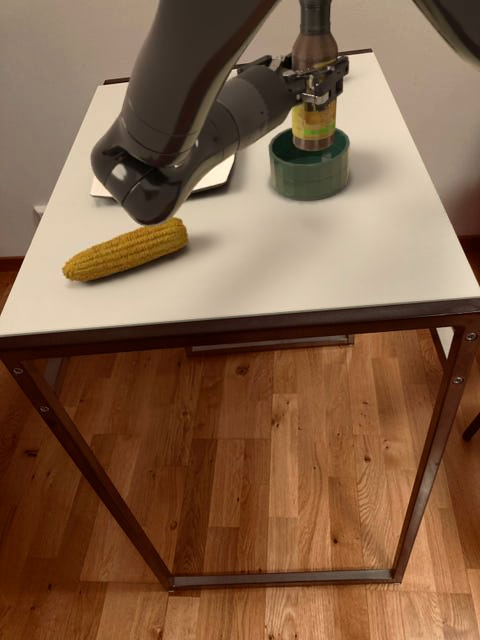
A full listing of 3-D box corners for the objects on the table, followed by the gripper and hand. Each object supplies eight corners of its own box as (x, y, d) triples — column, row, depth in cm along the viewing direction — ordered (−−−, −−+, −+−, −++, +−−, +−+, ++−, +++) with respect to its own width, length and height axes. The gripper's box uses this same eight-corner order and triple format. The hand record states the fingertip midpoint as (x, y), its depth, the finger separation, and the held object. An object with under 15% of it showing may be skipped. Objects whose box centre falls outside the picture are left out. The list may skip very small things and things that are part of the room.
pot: (353, 159, 97) (355, 125, 92) (341, 203, 89) (342, 168, 84) (281, 156, 101) (279, 122, 96) (263, 197, 93) (259, 163, 88)
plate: (238, 122, 113) (236, 111, 111) (234, 198, 94) (232, 185, 92) (114, 136, 116) (110, 125, 114) (86, 211, 97) (81, 200, 95)
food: (184, 234, 88) (176, 205, 84) (194, 252, 85) (187, 223, 80) (66, 277, 85) (52, 249, 80) (72, 297, 81) (58, 270, 77)
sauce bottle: (306, 158, 72) (302, 0, 58) (285, 141, 77) (276, -11, 62) (344, 144, 74) (350, -13, 59) (322, 128, 78) (322, -24, 63)
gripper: (288, 92, 54) (373, 36, 62) (195, 68, 62) (281, 21, 69) (291, 155, 60) (369, 97, 67) (205, 127, 67) (284, 77, 75)
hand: (324, 59), depth 68 cm, fingers closed on sauce bottle, 6 cm apart
